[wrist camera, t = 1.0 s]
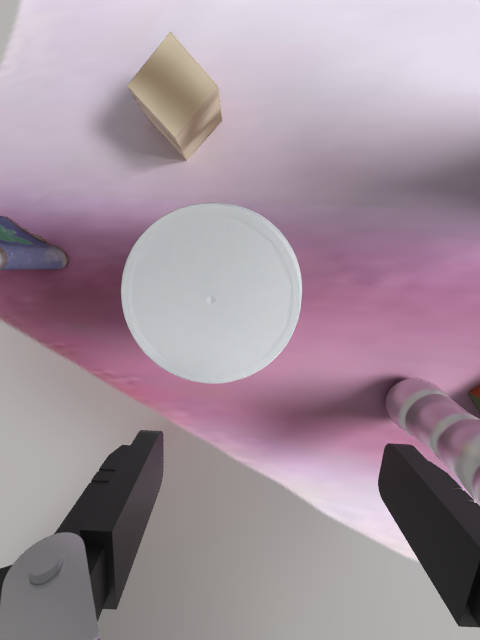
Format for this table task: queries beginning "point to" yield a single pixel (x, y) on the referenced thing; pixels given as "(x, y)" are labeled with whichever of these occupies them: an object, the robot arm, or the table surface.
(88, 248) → the table surface
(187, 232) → the supplement tub
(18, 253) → the flask
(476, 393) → the carton
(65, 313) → the table surface
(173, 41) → the beech cube
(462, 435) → the plastic bottle
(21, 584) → the robot arm
